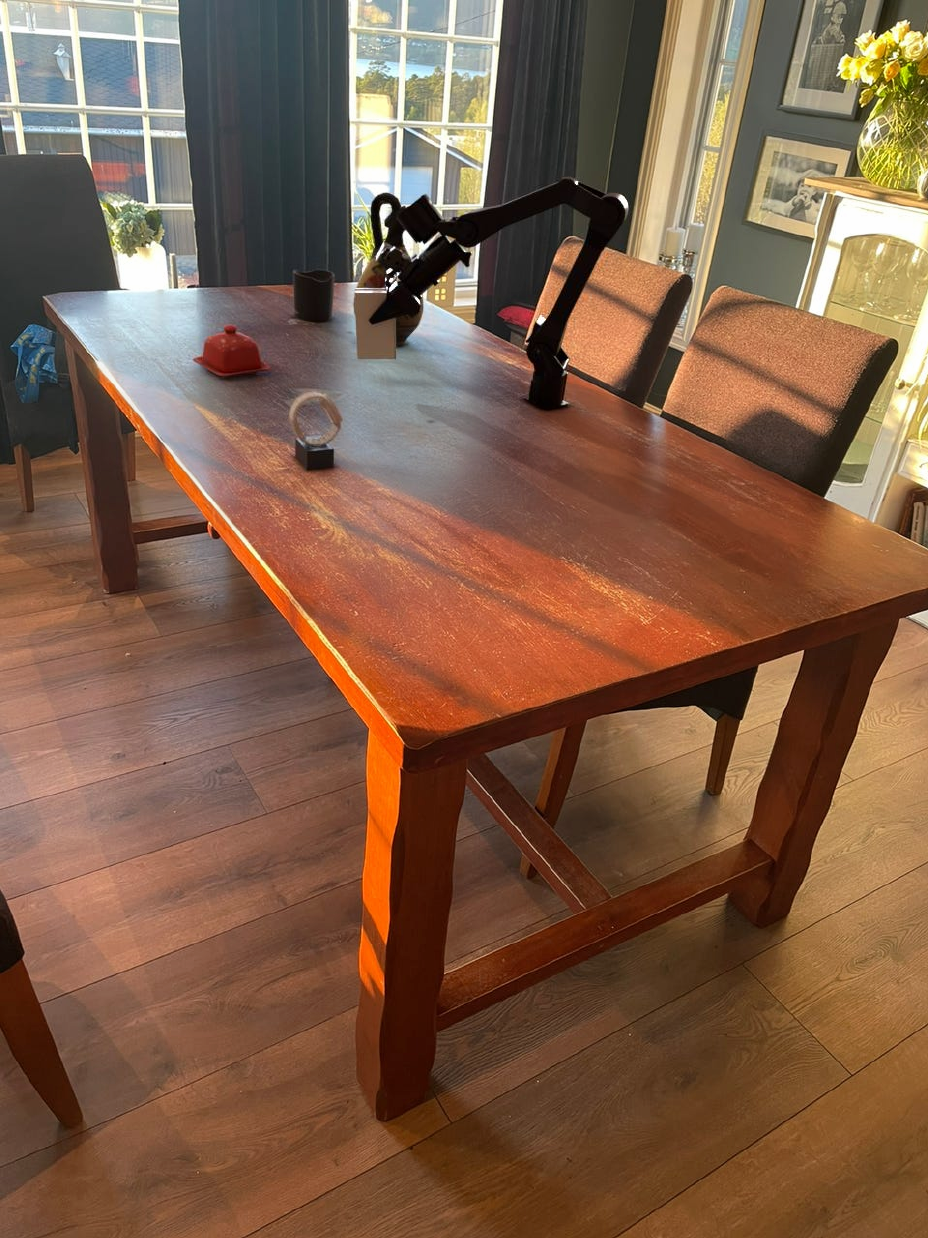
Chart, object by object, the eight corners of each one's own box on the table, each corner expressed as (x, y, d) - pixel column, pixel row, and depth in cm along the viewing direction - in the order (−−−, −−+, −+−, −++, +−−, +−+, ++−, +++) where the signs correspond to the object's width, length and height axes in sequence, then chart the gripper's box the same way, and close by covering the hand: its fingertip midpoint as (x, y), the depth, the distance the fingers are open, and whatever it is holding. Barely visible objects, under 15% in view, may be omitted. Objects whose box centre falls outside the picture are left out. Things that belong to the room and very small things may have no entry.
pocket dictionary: (396, 353, 184) (394, 288, 177) (396, 359, 181) (394, 292, 175) (358, 353, 184) (355, 287, 177) (357, 359, 181) (354, 292, 174)
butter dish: (219, 382, 174) (218, 336, 169) (189, 364, 181) (187, 319, 176) (273, 374, 181) (273, 330, 176) (242, 358, 188) (242, 314, 183)
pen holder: (299, 309, 224) (299, 266, 219) (337, 315, 223) (339, 271, 218) (287, 319, 216) (287, 273, 211) (327, 324, 215) (328, 279, 210)
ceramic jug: (434, 342, 212) (447, 199, 196) (394, 355, 200) (404, 203, 185) (374, 325, 219) (381, 186, 203) (332, 336, 207) (336, 189, 192)
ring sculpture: (345, 466, 146) (348, 398, 141) (295, 471, 143) (296, 401, 137) (332, 453, 150) (334, 386, 145) (284, 457, 147) (284, 388, 141)
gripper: (401, 220, 179) (341, 275, 183) (406, 238, 163) (340, 298, 167) (439, 266, 184) (379, 319, 188) (447, 288, 168) (382, 345, 172)
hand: (370, 319), depth 179 cm, fingers closed on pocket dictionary, 3 cm apart
